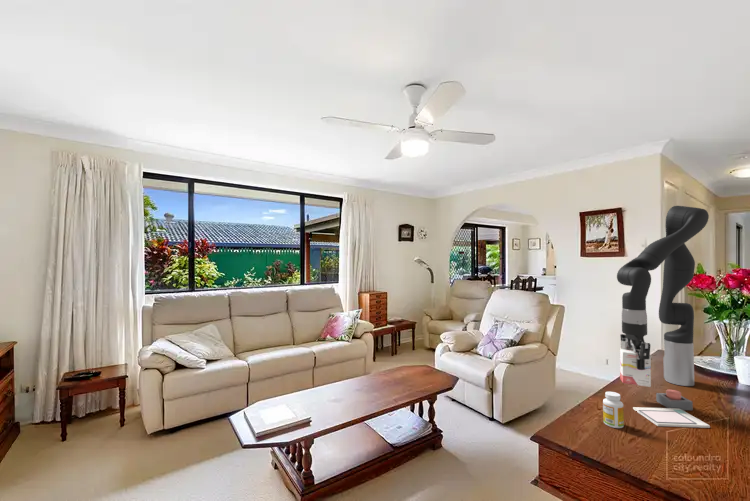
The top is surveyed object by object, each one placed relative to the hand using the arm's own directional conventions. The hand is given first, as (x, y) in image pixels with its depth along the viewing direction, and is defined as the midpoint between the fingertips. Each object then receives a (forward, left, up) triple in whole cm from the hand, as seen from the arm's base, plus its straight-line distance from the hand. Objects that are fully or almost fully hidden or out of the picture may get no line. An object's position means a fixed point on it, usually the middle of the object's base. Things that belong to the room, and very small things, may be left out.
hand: (635, 366), depth 128 cm
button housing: (+4, +10, -12) cm, 17 cm away
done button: (+4, +10, -10) cm, 15 cm away
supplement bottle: (+20, -19, -13) cm, 30 cm away
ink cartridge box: (0, 0, -6) cm, 6 cm away
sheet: (+14, +2, -12) cm, 19 cm away
